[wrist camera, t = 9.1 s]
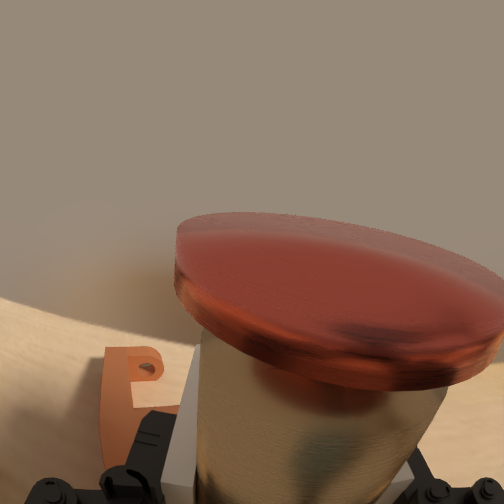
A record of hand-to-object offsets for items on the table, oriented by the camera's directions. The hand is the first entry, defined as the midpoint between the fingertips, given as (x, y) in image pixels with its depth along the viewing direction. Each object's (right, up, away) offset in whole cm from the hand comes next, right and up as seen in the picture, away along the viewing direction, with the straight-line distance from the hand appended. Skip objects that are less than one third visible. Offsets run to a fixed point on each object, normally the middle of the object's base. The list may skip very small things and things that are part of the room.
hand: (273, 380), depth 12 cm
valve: (-1, -8, -3) cm, 9 cm away
